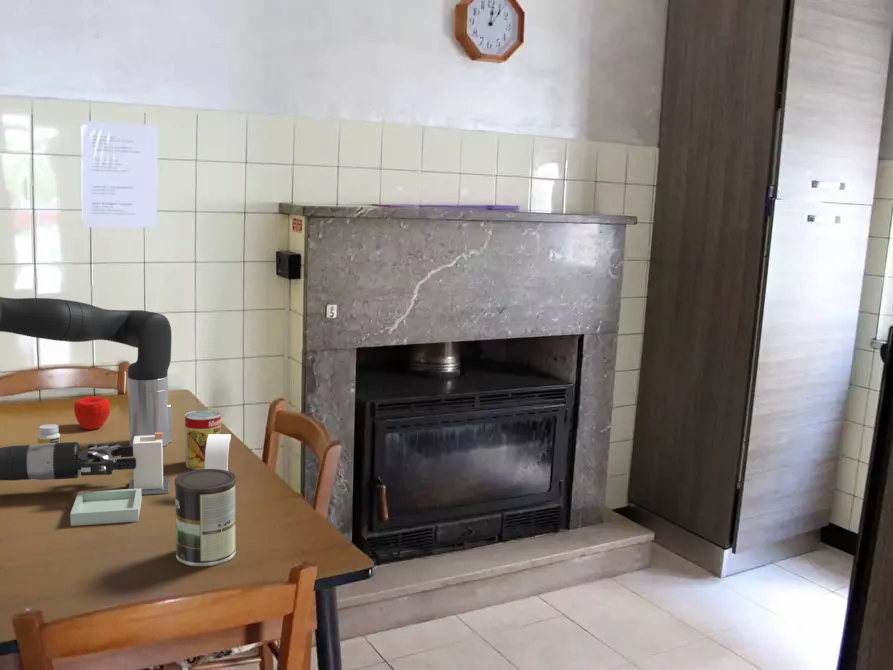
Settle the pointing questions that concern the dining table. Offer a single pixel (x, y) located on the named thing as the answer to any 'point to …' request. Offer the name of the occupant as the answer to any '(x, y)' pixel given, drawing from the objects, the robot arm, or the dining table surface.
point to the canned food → (199, 435)
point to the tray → (106, 507)
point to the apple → (92, 412)
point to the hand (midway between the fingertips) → (137, 456)
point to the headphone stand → (217, 451)
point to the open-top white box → (148, 461)
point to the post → (153, 491)
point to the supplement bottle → (49, 434)
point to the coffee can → (205, 517)
